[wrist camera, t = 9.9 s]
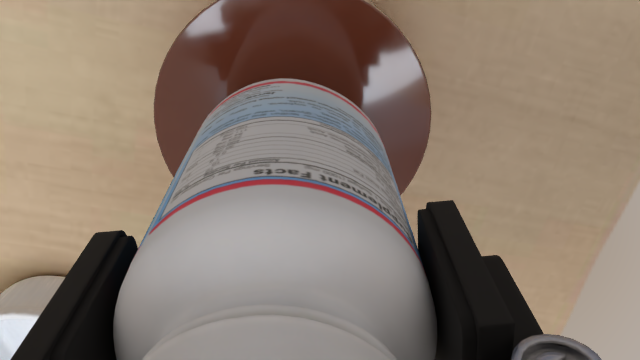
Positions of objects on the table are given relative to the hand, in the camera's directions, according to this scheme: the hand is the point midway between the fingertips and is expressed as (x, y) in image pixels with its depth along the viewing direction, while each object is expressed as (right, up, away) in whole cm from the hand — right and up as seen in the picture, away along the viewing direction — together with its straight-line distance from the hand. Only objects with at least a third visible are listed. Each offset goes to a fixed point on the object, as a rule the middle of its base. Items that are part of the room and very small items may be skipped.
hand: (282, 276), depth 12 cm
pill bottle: (0, +3, +6) cm, 6 cm away
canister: (0, +7, +15) cm, 16 cm away
